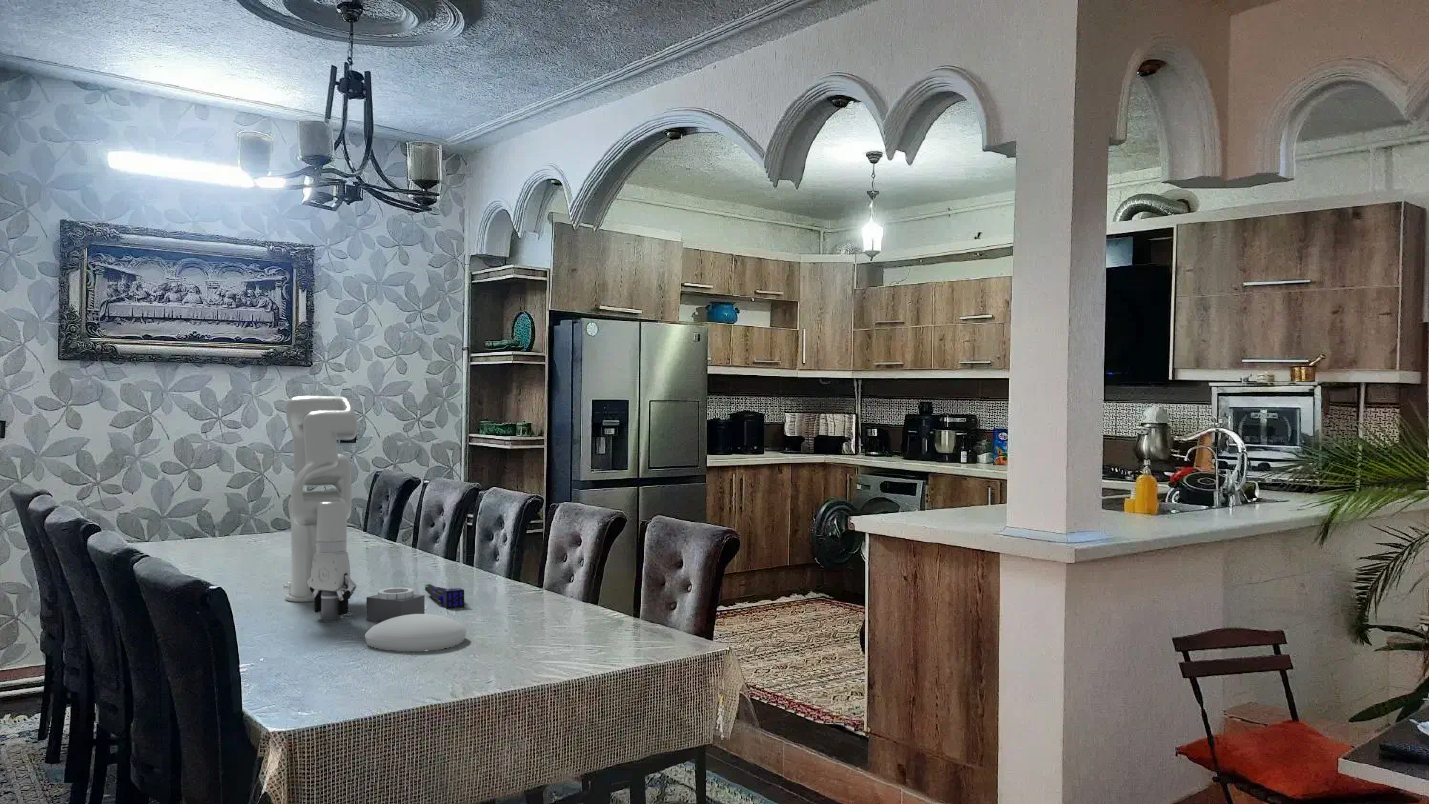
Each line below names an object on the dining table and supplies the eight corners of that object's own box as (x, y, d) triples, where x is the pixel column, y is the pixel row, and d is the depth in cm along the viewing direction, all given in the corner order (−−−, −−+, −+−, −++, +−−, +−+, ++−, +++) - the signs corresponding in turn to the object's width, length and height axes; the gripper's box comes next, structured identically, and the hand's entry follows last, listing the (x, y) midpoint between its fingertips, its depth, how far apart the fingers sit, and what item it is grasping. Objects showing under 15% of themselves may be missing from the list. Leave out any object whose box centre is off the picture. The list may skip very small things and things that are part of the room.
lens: (316, 620, 270) (316, 590, 270) (331, 617, 274) (331, 587, 274) (331, 622, 268) (331, 592, 268) (345, 619, 272) (345, 588, 272)
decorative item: (434, 657, 234) (481, 638, 253) (434, 627, 234) (481, 610, 253) (350, 648, 242) (402, 630, 261) (350, 619, 242) (402, 603, 261)
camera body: (366, 619, 272) (366, 591, 272) (390, 613, 280) (390, 586, 280) (401, 624, 267) (401, 595, 267) (424, 617, 275) (424, 589, 275)
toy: (419, 598, 312) (442, 609, 286) (419, 582, 312) (442, 591, 286) (447, 596, 316) (472, 606, 289) (447, 580, 316) (472, 588, 290)
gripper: (296, 546, 271) (296, 612, 271) (345, 551, 264) (345, 618, 264) (318, 543, 278) (317, 607, 278) (366, 547, 271) (366, 613, 271)
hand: (331, 612), depth 271 cm, fingers open, 7 cm apart
